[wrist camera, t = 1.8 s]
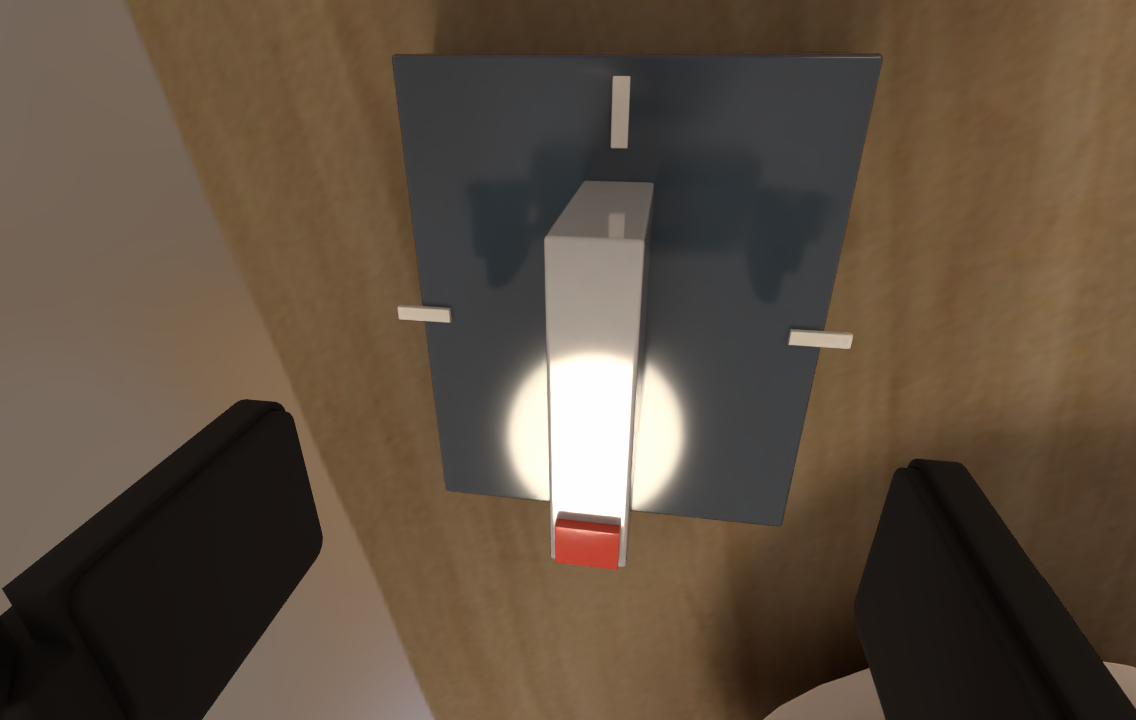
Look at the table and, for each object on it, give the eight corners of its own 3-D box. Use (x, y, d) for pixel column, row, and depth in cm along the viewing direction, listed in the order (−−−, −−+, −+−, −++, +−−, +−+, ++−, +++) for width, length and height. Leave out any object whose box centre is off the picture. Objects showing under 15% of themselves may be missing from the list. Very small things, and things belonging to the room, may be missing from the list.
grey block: (582, 179, 13) (539, 240, 9) (654, 182, 13) (643, 245, 9) (580, 438, 17) (547, 569, 12) (638, 444, 16) (624, 578, 12)
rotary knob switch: (408, 52, 15) (360, 54, 13) (879, 52, 14) (921, 53, 11) (452, 443, 21) (424, 493, 18) (789, 475, 19) (805, 534, 17)
